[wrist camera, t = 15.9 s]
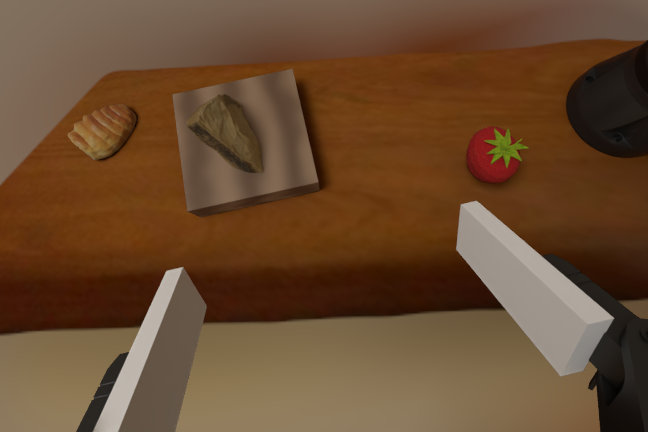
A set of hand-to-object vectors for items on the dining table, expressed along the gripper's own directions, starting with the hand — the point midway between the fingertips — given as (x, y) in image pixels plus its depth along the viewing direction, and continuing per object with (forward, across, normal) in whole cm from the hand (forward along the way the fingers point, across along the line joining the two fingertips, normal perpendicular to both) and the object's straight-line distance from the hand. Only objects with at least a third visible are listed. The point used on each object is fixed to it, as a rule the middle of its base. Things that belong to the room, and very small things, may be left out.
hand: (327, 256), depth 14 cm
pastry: (+40, -30, 0) cm, 50 cm away
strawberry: (+27, +24, -13) cm, 38 cm away
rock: (+31, -8, -2) cm, 33 cm away
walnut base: (+34, -8, -5) cm, 35 cm away
